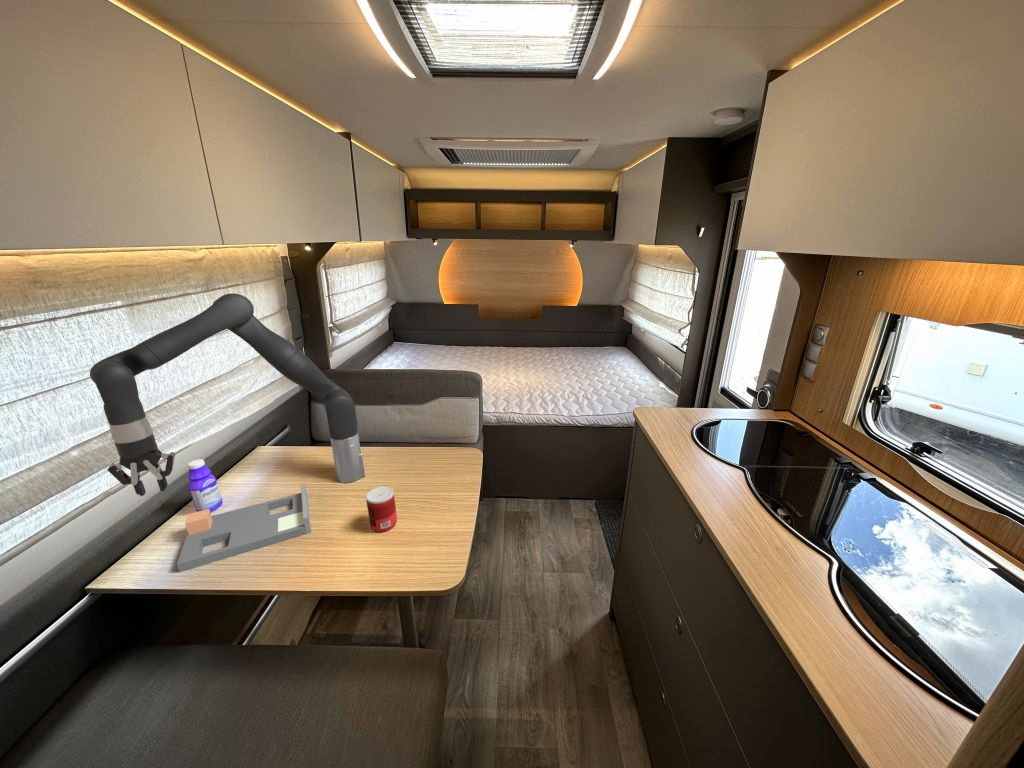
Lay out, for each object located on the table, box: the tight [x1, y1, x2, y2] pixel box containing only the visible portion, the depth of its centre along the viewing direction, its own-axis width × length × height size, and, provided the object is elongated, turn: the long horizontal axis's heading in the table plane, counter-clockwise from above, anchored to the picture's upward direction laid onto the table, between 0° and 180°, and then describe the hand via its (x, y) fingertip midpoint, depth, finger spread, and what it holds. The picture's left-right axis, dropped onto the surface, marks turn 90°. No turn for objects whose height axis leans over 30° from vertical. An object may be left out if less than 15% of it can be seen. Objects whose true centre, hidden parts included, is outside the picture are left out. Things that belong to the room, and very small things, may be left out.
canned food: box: [365, 486, 398, 534], centre depth 119 cm, size 8×8×11 cm
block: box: [184, 509, 213, 535], centre depth 116 cm, size 5×5×4 cm
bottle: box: [187, 458, 224, 514], centre depth 127 cm, size 7×6×17 cm
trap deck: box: [176, 483, 312, 573], centre depth 118 cm, size 31×20×6 cm, turn 119°
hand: (153, 491), depth 109 cm, fingers open, 3 cm apart
